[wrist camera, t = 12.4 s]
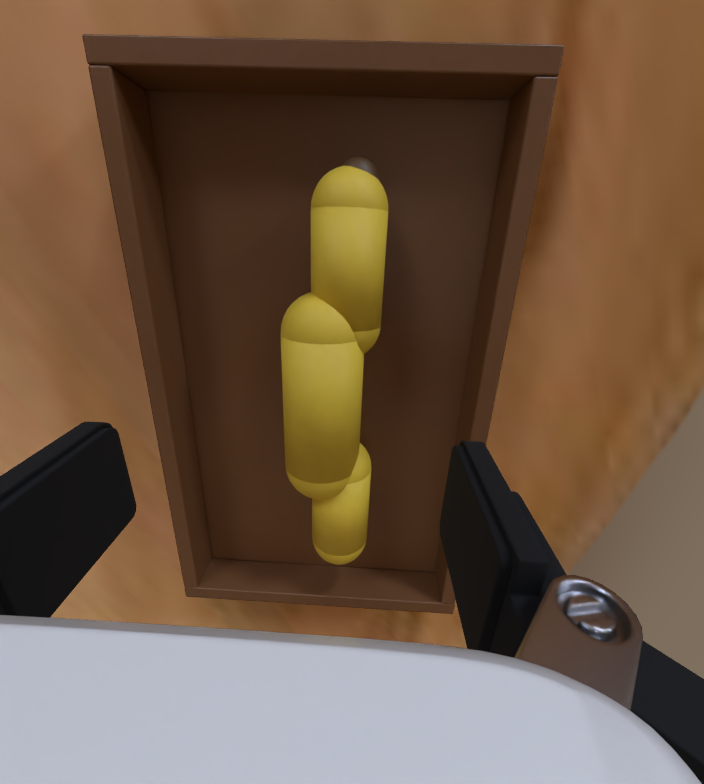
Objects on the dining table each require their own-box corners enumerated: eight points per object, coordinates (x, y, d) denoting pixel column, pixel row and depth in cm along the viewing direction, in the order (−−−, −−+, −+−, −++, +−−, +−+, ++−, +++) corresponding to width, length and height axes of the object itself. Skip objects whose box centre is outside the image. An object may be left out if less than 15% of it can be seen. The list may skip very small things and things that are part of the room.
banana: (270, 159, 14) (277, 134, 11) (374, 168, 15) (408, 149, 12) (285, 544, 22) (292, 596, 18) (355, 532, 23) (373, 580, 19)
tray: (135, 73, 15) (81, 33, 12) (527, 83, 14) (565, 44, 11) (207, 556, 24) (185, 597, 21) (443, 571, 24) (453, 614, 21)
